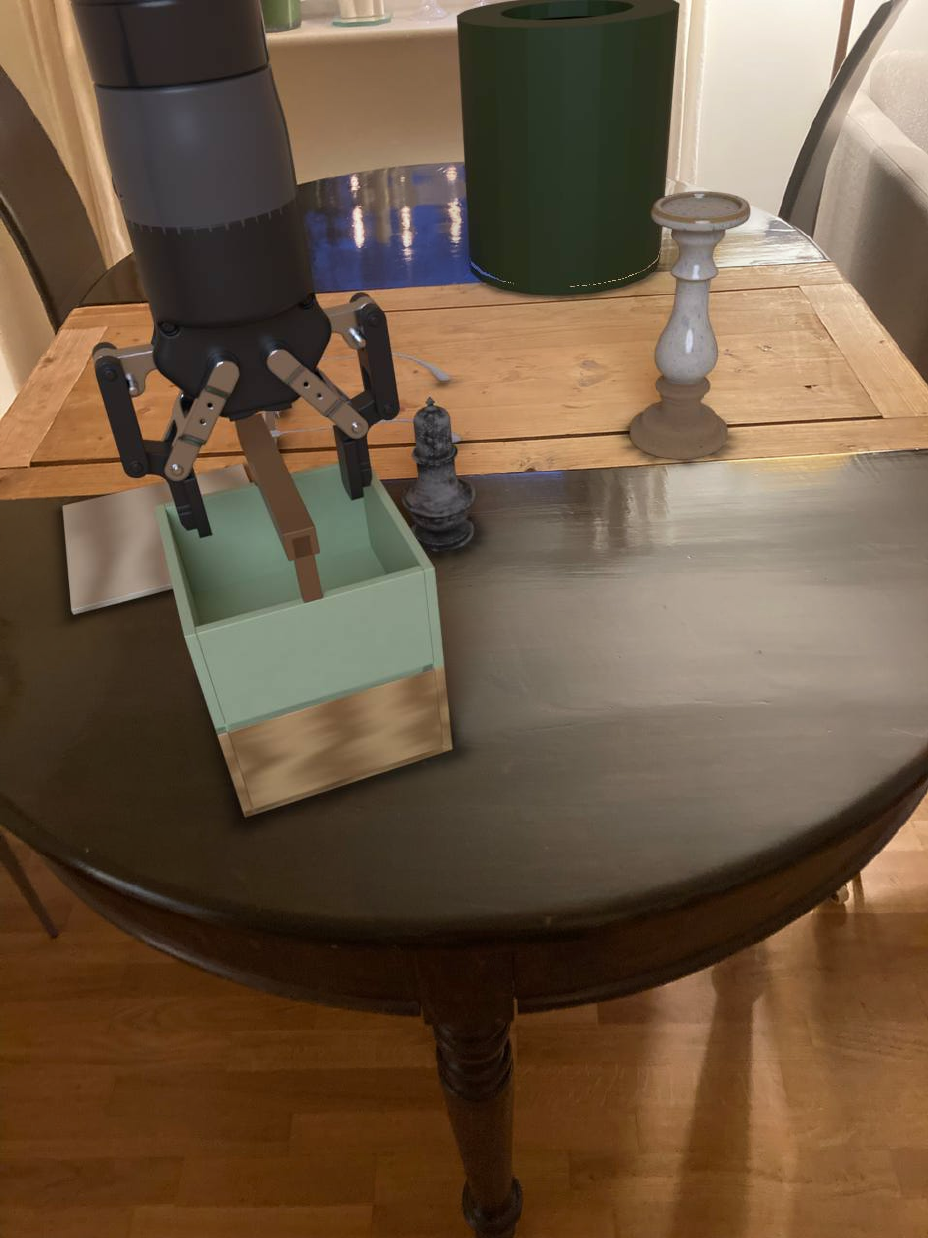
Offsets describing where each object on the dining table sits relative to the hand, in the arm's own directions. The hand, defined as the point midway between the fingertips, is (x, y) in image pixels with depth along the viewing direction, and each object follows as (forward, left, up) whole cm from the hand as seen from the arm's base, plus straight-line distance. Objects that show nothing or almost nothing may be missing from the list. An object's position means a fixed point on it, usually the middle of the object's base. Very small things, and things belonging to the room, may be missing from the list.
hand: (280, 510), depth 50 cm
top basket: (0, 0, -9) cm, 9 cm away
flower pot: (+51, +69, -16) cm, 87 cm away
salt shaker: (+14, +16, -16) cm, 26 cm away
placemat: (-7, +26, -16) cm, 31 cm away
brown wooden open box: (0, 0, -16) cm, 16 cm away
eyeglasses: (+14, +38, -16) cm, 43 cm away
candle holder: (+39, +21, -16) cm, 47 cm away
